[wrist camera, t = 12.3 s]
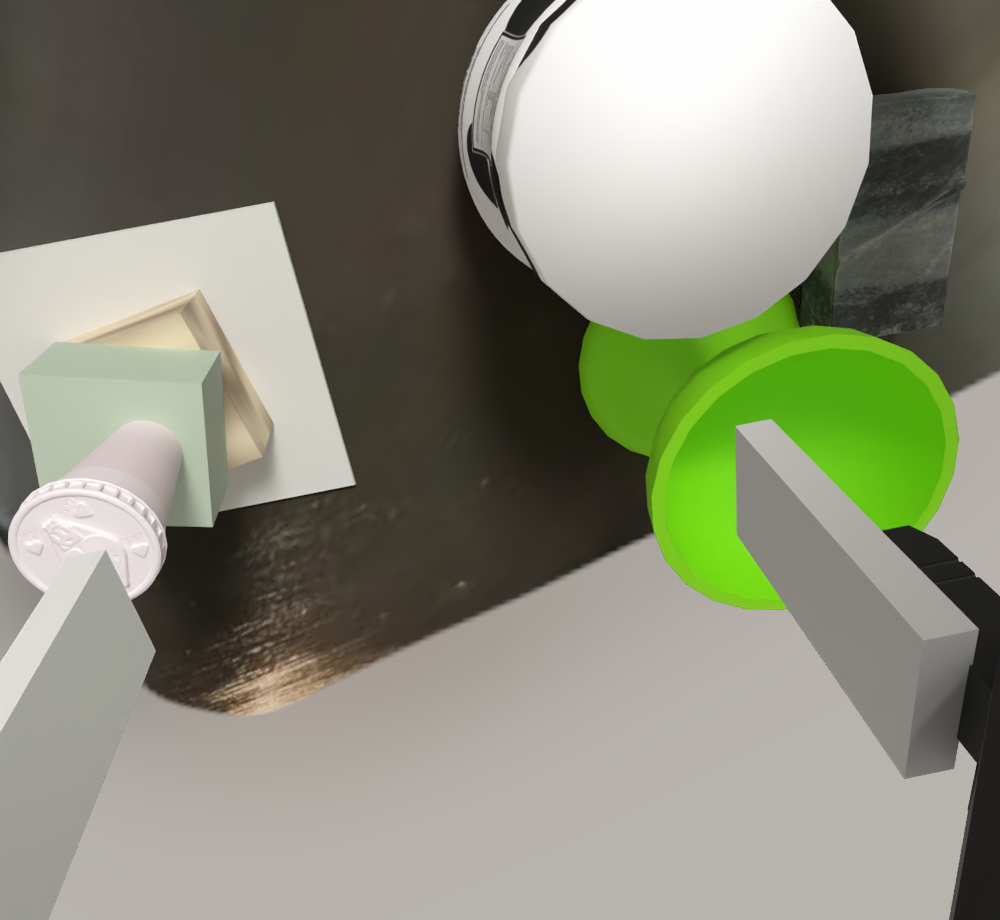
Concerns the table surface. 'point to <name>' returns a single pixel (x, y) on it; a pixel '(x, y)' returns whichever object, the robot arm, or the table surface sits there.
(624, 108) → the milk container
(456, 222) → the table surface
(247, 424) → the beech tray
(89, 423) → the sage block
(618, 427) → the wineglass
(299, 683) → the table surface
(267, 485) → the felt mat
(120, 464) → the smoothie
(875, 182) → the stone block
